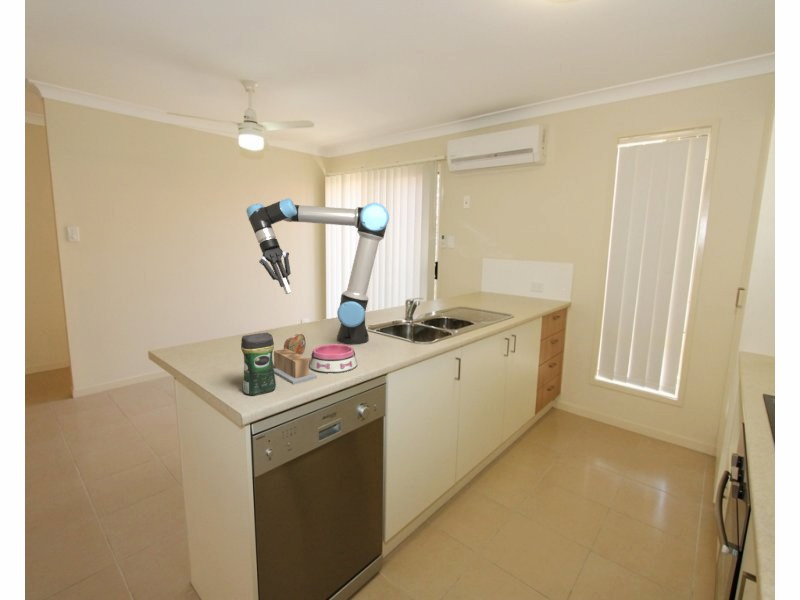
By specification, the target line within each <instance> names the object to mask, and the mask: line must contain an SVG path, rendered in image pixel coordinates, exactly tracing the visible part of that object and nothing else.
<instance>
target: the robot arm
mask: <svg viewBox="0 0 800 600" xmlns="http://www.w3.org/2000/svg"><path fill="white" fill-rule="evenodd" d="M245 212H246V214H247V218H248V221H249V223H250V225H251V228H252V230H253V233H254V235H255V238H256V240H257V243H258V245H259V248H260V250H261V253H262V258H261V259H260V260H258V263H259V264H260V265H262V266H263V267H264V269H265V270H266V272H267V274H269V276H270V277H271V279H272V280H274V281H275V280H276V281H278V283H279V287H281V288H283V291H284V292H285V295H289V294H290V293H291V292H292V290H291V288H290V284H291V282H290V280H289V276H290V275H291V273H292V272H291V267H290V260H289V256H290V253H289V252H285V251H283V250H282V248H281V246H280V244H279V241H278V239H277V236H276V234H275V230H274V228H273V226H272V225H275V224H276V223H279V222H282V221H285V222H288V223H292V222H295V223H309V224H322V225H323V224H325V225H335V226H336V225H337V226H350V227H355V228H356V229H357V230H356V231H357V234H358V236H359V239H358V242H357V246H356V250H355V254H354V259H353V263H352V267H351V271H350V276H349V280H348V285H347V289H346V290H345V291H343V292H342V293H341V294H340V302H339V307H338V309H337V312H336V314H337V318H338V321H339V322H340V327H339V329H338V333H337V335H336V340H337V343H339V344H343V345H359V344H360V345H361V344H366V343H368V342H369V339H370V338H369V333H368V329H367V326H366V311H367V307H368V303H369V297H368V296H367V293H368V288H369V284H370V280H371V276H372V272H373V267H374V264H375V260H376V256H377V251H378V249H379V248H378V247H379V242H380V241H382V240H384V238H385V233H386V229H387V226H388V224H389V220H390V214H389V210H388V209H387V207H385V206H384V205H383V204H381V203H377V202H371V203H368V204H366V205H365V206H364V207H362V206H361V207H360V206H357V207H356V208H345V207H344V208H343V207H342V208H341V207H329V206H317V205H316V206H315V205H298V204H295V203H294V201H293V200H292V199H291V198H288V197H287V198H285V199H281V200H279V201H276V202H274V203H272V204H270V205H266V206H264V204H263V203H255V204H251V205H249V206H248V207H247V208H246V211H245ZM282 258H283V261H282ZM268 262H269V263H270V264H269V263H268ZM283 263H284V264H283ZM367 341H368V342H367Z"/></svg>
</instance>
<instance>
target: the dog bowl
mask: <svg viewBox="0 0 800 600" xmlns="http://www.w3.org/2000/svg"><path fill="white" fill-rule="evenodd" d="M357 367H358V362H357V358H356V353H355V350H354V348H353V347H352V346H351V345H350V346H349V344H342V343H339V344H337V343H335V344H334V343H333V344H332V343H331V344H323V345H319V346H316V347H314V348H313V349H312V352H311V357H310V360H309V370H311V371H312V372H316V373H319V374H328V373H333V374H343V373H348V372H350V371H354V369H357ZM347 371H348V372H347Z"/></svg>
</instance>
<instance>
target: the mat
mask: <svg viewBox="0 0 800 600" xmlns="http://www.w3.org/2000/svg"><path fill="white" fill-rule="evenodd" d="M273 369H274V375H276V376H278V377H280V378H281V379H282V380H284V381H287V382H289V383H290V384H292V385H296V384H301V383H305V382H308V381H311V380H315V379H317V378H318V375H317V374H315V373H312V372H311V371H309V375H308V376H304V377H300V378H296V379H295V378H294V377H292V376H290V375H288V374H287V373H285V372H283V371H281V370H279V369H278V368H276V367H274V368H273Z"/></svg>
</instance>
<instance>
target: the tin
mask: <svg viewBox="0 0 800 600" xmlns="http://www.w3.org/2000/svg"><path fill="white" fill-rule="evenodd" d="M283 349H288V350H291V351H293V352H295V353H297V354H299V355H301V356H302V355H303V353H304V352H305V350H306V338H305V335H304V334H303V333H301V334H300V333H299V334H298V333H297V334H294V335H292V336H291V337H289V338H287V339H286V340H285V341H284V343H283Z"/></svg>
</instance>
